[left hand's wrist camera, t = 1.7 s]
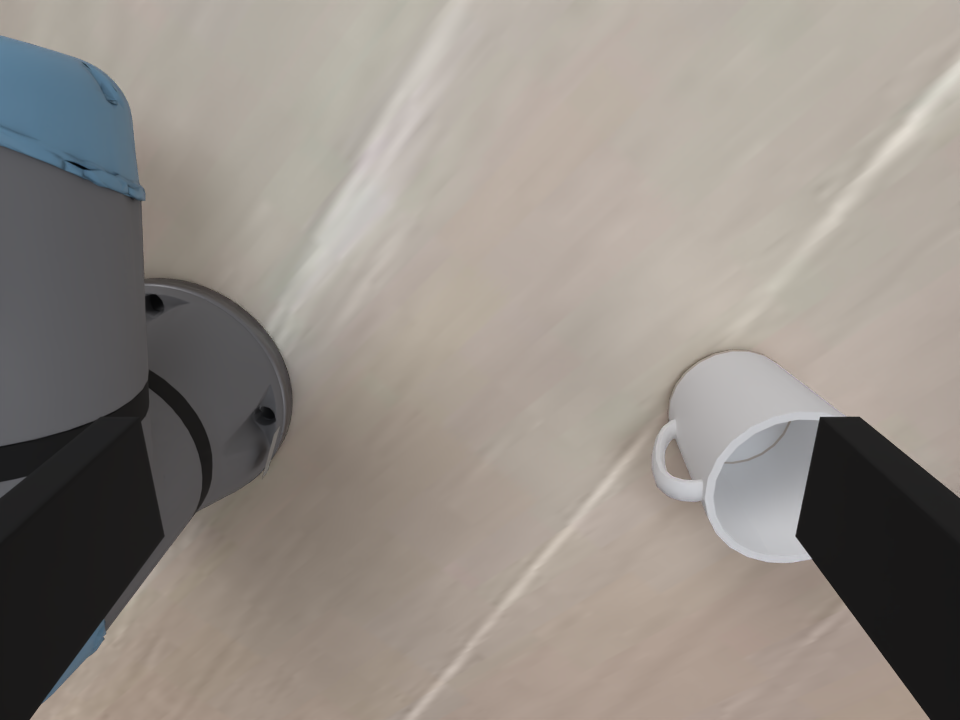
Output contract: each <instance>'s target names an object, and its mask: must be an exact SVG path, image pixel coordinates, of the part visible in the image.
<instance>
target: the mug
mask: <svg viewBox="0 0 960 720" xmlns="http://www.w3.org/2000/svg"><path fill="white" fill-rule="evenodd" d="M820 417H847V416H845V415H844V414H843V413H841V412H840V411H839V410H838V409H836V408H835V407H834V406H832V405H831V404H830V403H828V402H827V401H826V400H824V399H823V398H822V397H821V396H819V395H818V394H817V393H815V392H814V391H813V390H811V389H810V388H809V387H807V386H806V385H805V384H804V383H802V382H801V381H800V380H798V379H797V378H796V377H794V376H793V375H792V374H790V373H789V372H788V371H787V370H785V369H784V368H783V367H781V366H780V365H779V364H777V363H776V362H775V361H773V360H771V359H770V358H768V357H766V356H765V355H763V354H759V353H756V352H752V351H749V350H728V351H724V352H719V353H715V354H712V355H710V356H708V357H706V358H704V359H702V360H700V361H698V362H697V363H696V364H694V365H693V366H692V367H691V368H689V369H688V370H687V371H686V372H685V373H684V374H683V375H682V377H681V378H680V379H679V381H678V382H677V383H676V384H675V387H674V389H673V392H672V394H671V396H670V399H669V406H668V419H669V422H668V423H667V424H666V425H664V426H663V427H662V428H661V430H660V432H659V433H658V435H657V437H656V440H655V444H654V447H653V451H652V472H653V476H654V479H655V482H656V485H657V487H658V488H659V489H660V490H661V491H662V492H664V493H665V494H666V495H667V496H669V497H671V498H674V499H677V500H680V501H690V502H697V501H701V503H702V505H703V508H704V510H705V513H706V515H707V517H708V519H709V521H710V522H711V524H712V526H713V528H714V530H715V532H716V534H717V535H718V536H719V537H720V538H721V539H722V540H723V541H724V542H725V543H726V544H727V545H728V546H729V547H730V548H732V549H734V550H736V551H738V552H739V553H741V554H743V555H745V556H747V557H750V558H753V559H757V560H761V561H765V562H775V563H793V562H798V561H804V560H809V559H812V558H811V557H810V556H809V554H808V553H807V552H806V550H805V549H804V548H803V546H802V545H801V543H800V542H799V541H798V539H797V538H796V537H795V535H796V530H797V525H798V520H799V516H800V511H801V506H802V501H803V496H804V491H805V487H806V482H807V477H808V472H809V467H810V462H811V457H812V453H813V448H814V443H815V438H816V433H817V428H818V423H819V419H820ZM672 439H675V440H676V443H677V445H678V448H679V450H680V452H681V455H682V457H683V460H684V462H685V464H686V467H687V469H688V472H689V474H690V476H691V479H692V480H683V479H680V478H677V477H673V476H672V475H671V474H670V473H668V471H667V469H666V466H665V451H666V448H667V446H668V444H669V442H670V441H671V440H672Z"/></svg>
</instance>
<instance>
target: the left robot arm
mask: <svg viewBox="0 0 960 720" xmlns="http://www.w3.org/2000/svg"><path fill="white" fill-rule="evenodd" d="M145 196H146V194H145V191H144V188H143V187H142V186H141V185H140V184H139V177H138V170H137V162H136V153H135V143H134V133H133V123H132V116H131V110H130V107H129V104H128V102H127V100H126V98H125V96H124V94H123V92H122V91H121V90H120V88H119V87H118V86H117V84H116V83H115V82H114V81H113V80H112V79H111V78H110V77H109V76H108V75H107V74H105V73H104V72H103V71H101V70H100V69H99V68H97V67H95V66H93V65H92V64H90V63H88V62H85V61H83V60H81V59H78V58H75V57H72V56H69V55H66V54H63V53H60V52H56V51H53V50H50V49H46V48H43V47H40V46H36V45H33V44H29V43H26V42H22V41H19V40H15V39H12V38H8V37H5V36H1V35H0V720H30V718H31V717H32V716H33V714H34V713H35V712H36V710H37V709H38V708H39V706H40V705H41V704H42V703H43V702H44V701H46V700H47V699H48V698H49V697H50V696H51V695H52V694H53V693H54V692H55V691H56V690H57V689H58V688H59V687H60V686H61V685H62V684H63V683H64V682H65V681H66V679H67V678H68V677H69V676H70V675H71V674H72V673H73V672H74V671H75V670H76V669H77V668H78V667H79V666H80V665H81V664H82V662H83V661H84V660H85V659H86V658H87V657H89V656H90V655H92V654H93V653H94V652H95V651H96V650H97V649H98V647H99V646H100V644H101V643H102V641H103V640H104V637H103V636H104V635H105V634H106V631H107V629H108V628H109V627H110V625H111V624H112V623H113V621H114V620H115V619H116V618H117V616H118V615H119V614H120V612H121V611H122V610H123V608H124V607H125V606H126V604H127V603H128V602H129V600H130V599H131V598H132V596H133V595H134V594H135V592H136V591H137V590H138V588H139V587H140V586H141V584H142V583H143V582H144V580H145V579H146V578H147V576H148V575H149V574H150V573H151V571H152V570H153V569H154V567H155V566H156V565H157V563H158V562H159V561H160V559H161V558H162V557H163V555H164V554H165V553H166V551H167V550H168V549H169V547H170V546H171V545H172V543H173V542H174V541H175V539H176V538H177V537H178V535H179V534H180V533H181V532H182V530H183V529H184V528H185V526H186V525H187V524H188V522H189V521H190V520H191V518H192V517H193V516H194V514H195V513H196V512H197V511H199V510H201V509H203V508H205V507H207V506H209V505H211V504H212V503H214V502H216V501H218V500H220V499H222V498H224V497H226V496H228V495H230V494H231V493H233V492H235V491H237V490H239V489H240V488H242V487H243V486H245V485H246V484H248V483H249V482H251V481H252V480H253V479H254V478H256V477H257V476H258V475H259V474H260V473H261V472H262V471H263V470H264V469H265V470H264V474H263V477H264V476H265V474H266V473H267V471H268V469H269V465H270V461H271V459H272V458H273V456H274V455H275V453H276V452H277V450H278V449H279V447H280V446H281V444H282V442H283V440H284V438H285V436H286V433H287V431H288V427H289V424H290V420H291V413H292V390H291V384H290V379H289V375H288V371H287V369H286V366H285V363H284V361H283V358H282V356H281V354H280V352H279V350H278V349H277V347H276V345H275V344H274V342H273V340H272V339H271V338H270V336H269V335H268V334H267V332H266V331H265V330H264V329H263V327H262V326H261V325H260V324H259V323H258V322H257V321H256V320H255V319H254V318H253V317H252V316H251V315H250V314H249V313H248V312H246V311H245V310H244V309H243V308H241V307H240V306H239V305H237V304H236V303H234V302H233V301H231V300H230V299H228V298H227V297H225V296H223V295H221V294H219V293H217V292H215V291H213V290H211V289H208V288H206V287H203V286H200V285H197V284H194V283H190V282H186V281H182V280H175V279H165V278H151V279H144V260H143V233H142V206H141V201H145ZM263 477H262V479H263ZM795 537H796V538H797V539H798V541H799V542H800V543H801V545H802V546H803V548H804V549H805V550H806V552H807V553H808V554H809V556H810V557H811V558H812V560H813V561H814V562H815V564H816V565H817V567H818V568H819V569H820V571H821V572H822V573H823V575H824V576H825V577H826V579H827V580H828V581H829V583H830V584H831V586H832V587H833V588H834V590H835V591H836V592H837V594H838V595H839V596H840V598H841V599H842V600H843V602H844V603H845V605H846V606H847V607H848V609H849V610H850V611H851V613H852V614H853V615H854V617H855V618H856V619H857V621H858V622H859V623H860V625H861V626H862V628H863V629H864V630H865V632H866V633H867V634H868V636H869V637H870V638H871V640H872V641H873V642H874V644H875V645H876V647H877V648H878V649H879V651H880V652H881V653H882V655H883V656H884V657H885V659H886V660H887V661H888V663H889V664H890V666H891V667H892V668H893V670H894V671H895V672H896V674H897V675H898V676H899V678H900V679H901V680H902V682H903V683H904V685H905V686H906V687H907V689H908V690H909V691H910V693H911V694H912V695H913V697H914V698H915V699H916V701H917V702H918V704H919V705H920V706H921V708H922V709H923V710H924V712H925V713H926V714H927V716H928V717H929V718H930V720H960V498H959V497H958V496H956V495H955V494H954V493H953V492H952V491H950V490H949V489H948V488H947V487H945V486H944V485H943V484H942V483H940V482H939V481H938V480H937V479H936V478H934V477H933V476H932V475H931V474H929V473H928V472H927V471H926V470H924V469H923V468H922V467H921V466H920V465H918V464H917V463H916V462H915V461H913V460H912V459H911V458H910V457H908V456H907V455H906V454H905V453H904V452H902V451H901V450H900V449H899V448H897V447H896V446H895V445H894V444H892V443H891V442H890V441H889V440H888V439H886V438H885V437H884V436H883V435H881V434H880V433H879V432H878V431H876V430H875V429H874V428H873V427H871V426H870V425H869V424H868V423H867V422H865V421H864V420H863V419H862V418H860V417H820V419H819V423H818V428H817V433H816V438H815V443H814V448H813V453H812V457H811V462H810V467H809V472H808V477H807V482H806V487H805V491H804V496H803V501H802V506H801V511H800V516H799V520H798V525H797V530H796V535H795Z"/></svg>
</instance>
